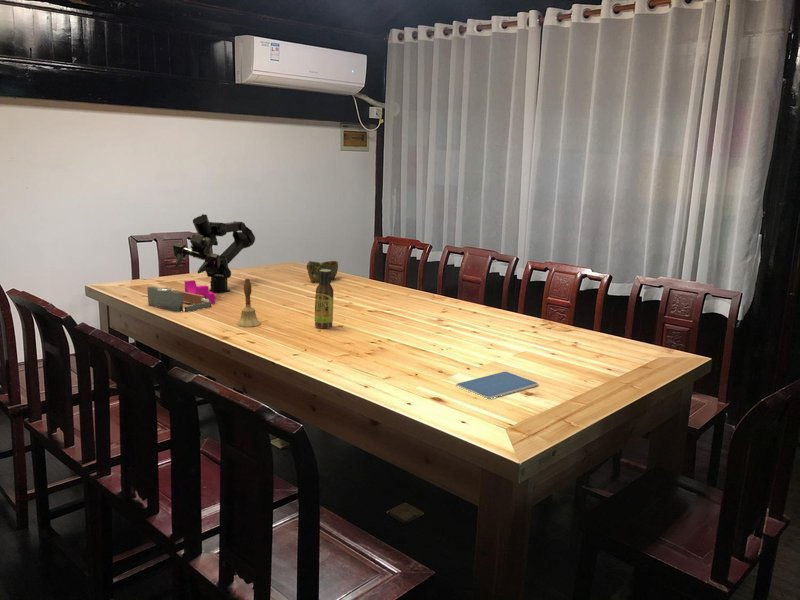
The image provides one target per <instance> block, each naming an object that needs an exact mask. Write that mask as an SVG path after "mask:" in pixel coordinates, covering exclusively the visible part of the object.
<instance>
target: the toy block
mask: <svg viewBox="0 0 800 600" xmlns="http://www.w3.org/2000/svg"><path fill="white" fill-rule="evenodd" d="M196 282H197V281H196V280H194V279H193V280H192V279H191V280H184V292H189V293H194V294H198V295H203V296H204V298H205V295H207V299H209V301H210V302H211V304H213V305H215V304H216V292H212V291H209V290H210V289H209V286H208V285H206V284H205V285H204V284H203V285H197V283H196Z"/></svg>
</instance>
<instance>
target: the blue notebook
mask: <svg viewBox="0 0 800 600" xmlns="http://www.w3.org/2000/svg"><path fill="white" fill-rule="evenodd" d="M455 385H456V386H459V387H461V388H463V389H466V390H468V391H470V392H473V393H475V394H477V395H480V396H482V397H484V398H487V399H491V398H494V397H498V396H501V395H504V396H507V395H506V394H508V395H510V394H509V393H511V394H514V393H513V392H515V393H517V391H518V392H521V390H522V391H524V389H525V390H528V388H529V389H531V388H532V389H533V388H536V387H538V386H539V383H538V382H536V381H533V380H531V379H527V378H525V377H523V376H520V375H516V374H514V373H513V372H512V373H511V372H508V371H501V372H498V373H497V372H496V373H493V374H489V375H486V376H481V377H479V378H478V377H477V378H474V379H470V380H466V381H462V382H458V383H456V384H455ZM456 386H455V387H456ZM535 386H536V387H535ZM463 389H462V390H463ZM470 392H469V393H470ZM477 395H476V396H477ZM501 397H502V396H501ZM484 398H483V399H484ZM498 398H499V397H498ZM487 399H486V400H487ZM491 400H492V399H491Z"/></svg>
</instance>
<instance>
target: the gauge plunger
mask: <svg viewBox="0 0 800 600" xmlns="http://www.w3.org/2000/svg"><path fill="white" fill-rule="evenodd" d="M171 291H176V292H181V293H182V297H183V303H184V302H185V303H188V304H189V303H190V304H198V303H204V302H209V299H207V295H205V298H204V296H203V295H198V294H194V293H189V292H185V290H178V289H172V290H171Z"/></svg>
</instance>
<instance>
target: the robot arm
mask: <svg viewBox="0 0 800 600" xmlns="http://www.w3.org/2000/svg"><path fill="white" fill-rule="evenodd" d="M192 224H193V226H194V228H195V230H196V233H197V234H195V233H193V234H192V236H191V238H190V240H189V242H190V243H191V244H190V249H189V248H187V247H186V246H187V245H186V244H183V243H180V242H175V243H174V244H173V245H172V248H173V255H174V257H176V258H175V259H176V260H175V267H176V268H177V267H178V266H180V264H181V263H183V261H184V260H185V258H186V256H187V255H188V256H190V257H192V258H195V259H197V260H201V261H203V263H202V264H201V265H200V267H199V268H198V270H197V274H201V273H203V272H206V276H207V278H210V282H209V283H210V289H208V290H209V292H213V293H216V292H217V294H220V293H225V292H230V291H231V289H230V288H228V284H229V283H228V279H229V278H231V277H232V271H231V270H230V268H229V264H230V263H231V262H232V261H233V259H235V258H236V257H237V255H239V253H240V252H241V251H242V250H244V249H247V248H250V247H251V246H253V245H254V243H255V241H256V235H255V234H254V233H253V231H252V230H251V229H250V228H249V227H248V226H246V224H245V222H243V221H232V222H231V221H230V222H216V221H215V222H213V221H209V218H208V215H207V214H203V213H202V214H201V215H199V216H197V217H194V218H193V220H192ZM227 233H232V236H231V237H233V242H232V243H231V244H230V245H229V246H228V247H227V248H226V249H225V250H224V251H223V252H222V253H221V254H216V253H214V252H210V251H211V249H212V247H213V246H219V245H218V244H219V242H218V239H217V237H223V236H225V235H227Z"/></svg>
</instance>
